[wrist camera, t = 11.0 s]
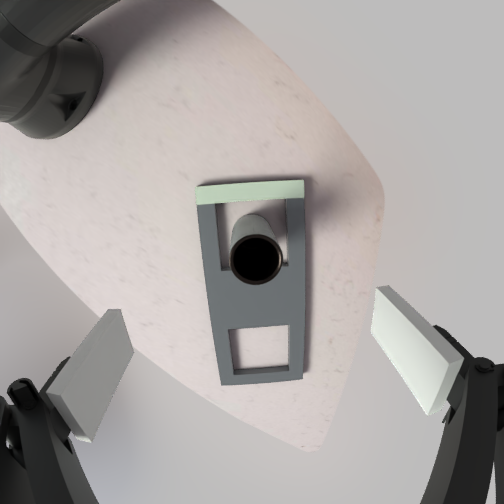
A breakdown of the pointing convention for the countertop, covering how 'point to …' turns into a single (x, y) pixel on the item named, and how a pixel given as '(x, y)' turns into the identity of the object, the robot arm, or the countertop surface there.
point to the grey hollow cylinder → (254, 251)
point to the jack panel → (255, 296)
